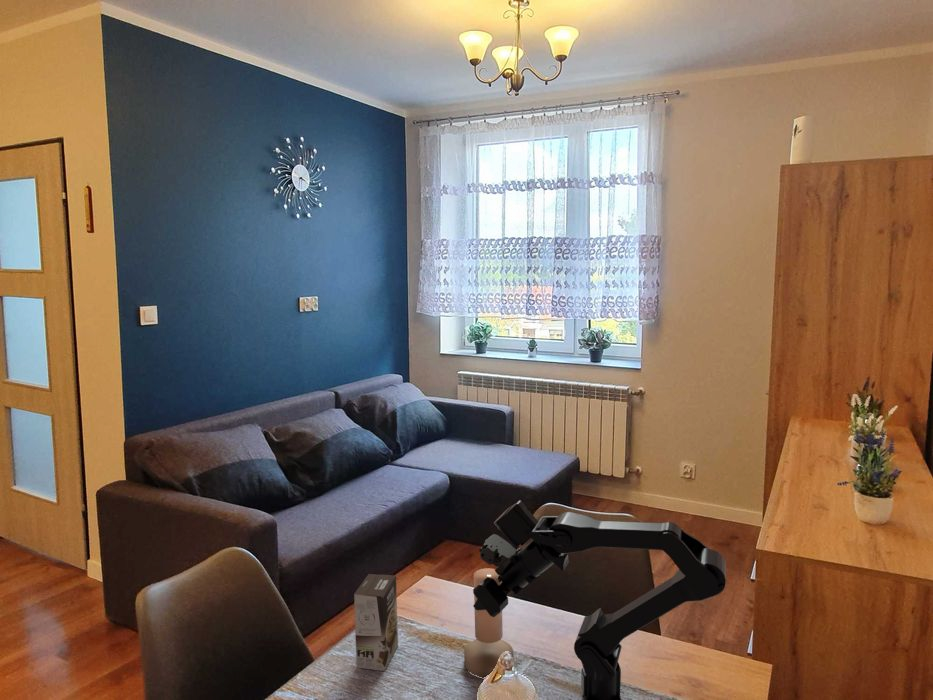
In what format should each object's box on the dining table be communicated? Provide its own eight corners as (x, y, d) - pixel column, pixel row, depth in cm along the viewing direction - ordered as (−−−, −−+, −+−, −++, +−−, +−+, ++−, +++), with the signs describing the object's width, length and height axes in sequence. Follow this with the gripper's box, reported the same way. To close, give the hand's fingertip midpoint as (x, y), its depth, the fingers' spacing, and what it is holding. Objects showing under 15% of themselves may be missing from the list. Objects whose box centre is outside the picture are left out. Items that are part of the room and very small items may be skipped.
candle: (501, 627, 136) (500, 568, 134) (503, 642, 131) (502, 581, 129) (474, 627, 136) (473, 568, 134) (475, 643, 131) (473, 582, 129)
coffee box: (385, 671, 132) (383, 597, 130) (355, 668, 133) (352, 594, 131) (399, 645, 141) (397, 574, 138) (370, 642, 142) (368, 572, 140)
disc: (511, 650, 139) (511, 637, 139) (515, 680, 129) (515, 666, 129) (464, 650, 139) (464, 637, 139) (464, 681, 129) (464, 667, 129)
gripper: (524, 510, 136) (479, 550, 143) (481, 546, 120) (432, 588, 127) (560, 554, 133) (512, 592, 140) (520, 596, 117) (468, 637, 124)
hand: (482, 600), depth 133 cm, fingers closed on candle, 6 cm apart
